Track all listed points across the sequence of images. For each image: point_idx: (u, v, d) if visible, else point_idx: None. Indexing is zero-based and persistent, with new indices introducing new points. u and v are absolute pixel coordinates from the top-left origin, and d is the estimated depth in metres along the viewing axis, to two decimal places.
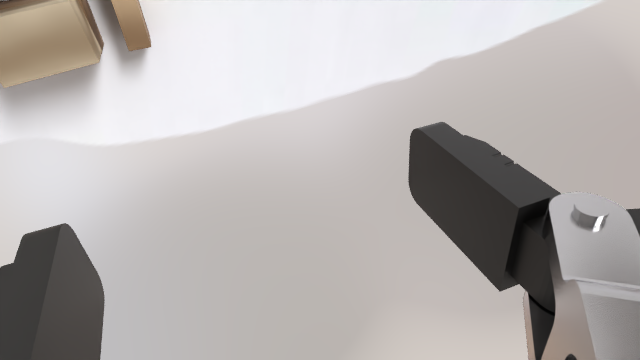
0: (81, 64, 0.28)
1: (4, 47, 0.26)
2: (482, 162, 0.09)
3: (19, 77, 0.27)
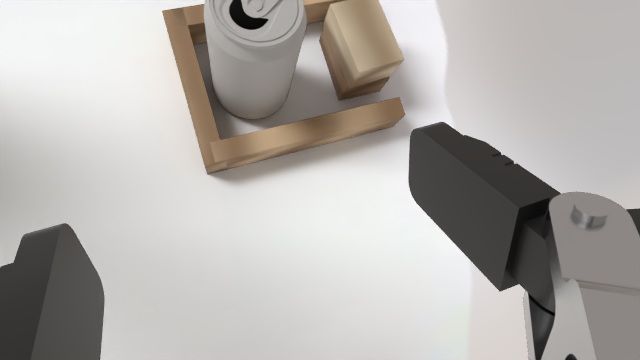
0: (378, 5, 0.34)
1: (372, 51, 0.33)
2: (482, 162, 0.09)
3: (394, 47, 0.33)
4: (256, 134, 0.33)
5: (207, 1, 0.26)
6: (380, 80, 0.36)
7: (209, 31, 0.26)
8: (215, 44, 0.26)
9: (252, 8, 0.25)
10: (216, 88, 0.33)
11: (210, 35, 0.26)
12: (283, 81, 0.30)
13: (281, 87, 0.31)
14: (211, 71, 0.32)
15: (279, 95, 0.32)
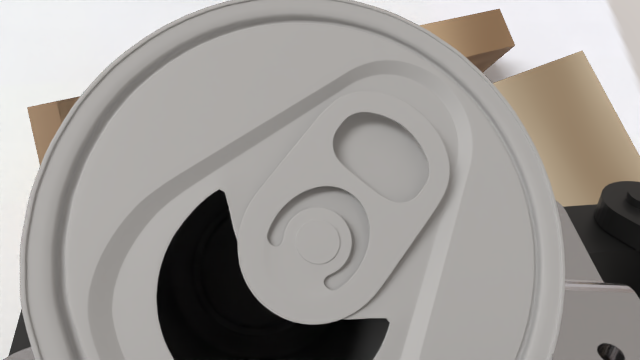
0: (594, 82, 0.13)
1: None
2: None
3: None
4: None
5: None
6: None
7: None
8: None
9: (296, 261, 0.04)
10: (171, 322, 0.12)
11: None
12: None
13: (361, 358, 0.10)
14: None
15: (346, 350, 0.11)
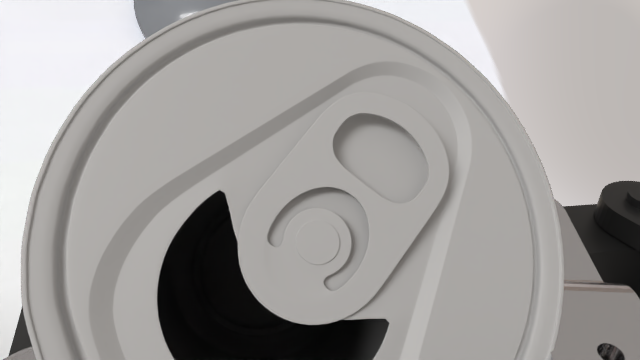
0: None
1: None
2: None
3: None
4: None
5: None
6: None
7: None
8: None
9: (295, 261, 0.04)
10: (171, 322, 0.12)
11: None
12: None
13: (361, 358, 0.10)
14: None
15: (346, 351, 0.11)
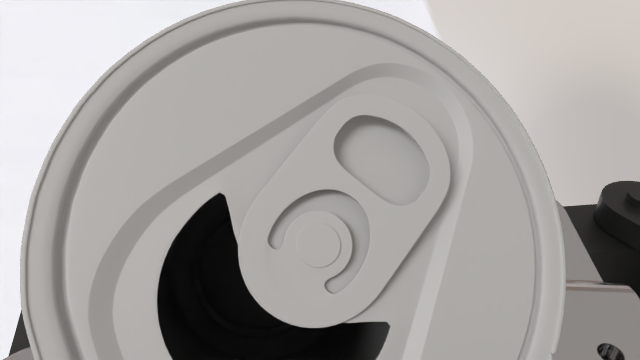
0: None
1: None
2: None
3: None
4: None
5: None
6: None
7: None
8: None
9: (297, 263, 0.04)
10: (171, 323, 0.12)
11: None
12: None
13: (362, 359, 0.10)
14: None
15: (346, 352, 0.11)
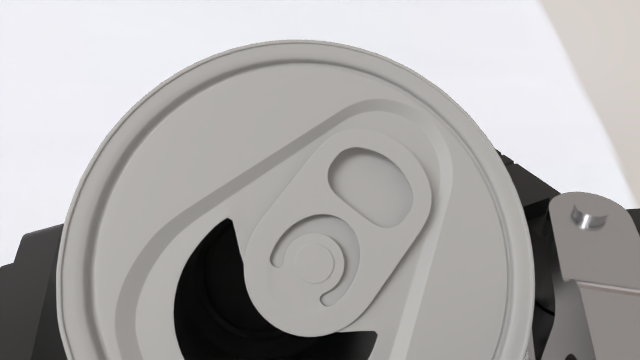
0: None
1: None
2: None
3: None
4: None
5: None
6: None
7: None
8: None
9: (295, 280, 0.05)
10: (177, 327, 0.13)
11: None
12: None
13: None
14: None
15: (344, 354, 0.12)
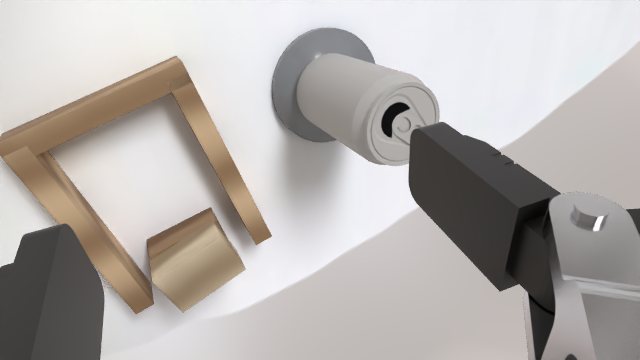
0: (233, 275, 0.35)
1: (180, 285, 0.33)
2: (482, 162, 0.09)
3: (192, 301, 0.34)
4: (57, 190, 0.29)
5: (403, 76, 0.27)
6: None
7: (376, 83, 0.27)
8: (365, 89, 0.27)
9: (400, 121, 0.28)
10: (322, 65, 0.33)
11: (372, 84, 0.27)
12: None
13: (331, 135, 0.33)
14: (338, 62, 0.32)
15: (323, 129, 0.34)
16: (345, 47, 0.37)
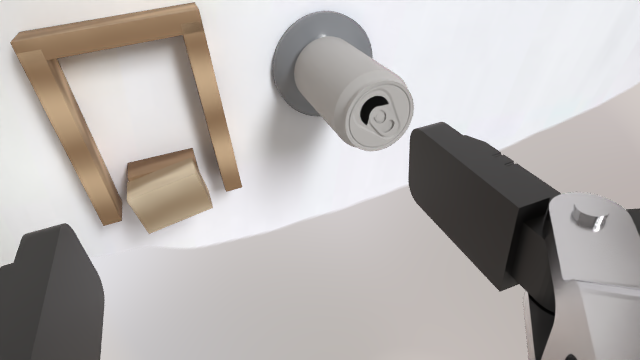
0: (200, 210, 0.38)
1: (151, 209, 0.37)
2: (482, 162, 0.09)
3: (159, 225, 0.38)
4: (59, 96, 0.32)
5: (389, 74, 0.31)
6: None
7: (365, 74, 0.30)
8: (354, 77, 0.31)
9: (377, 113, 0.31)
10: (324, 46, 0.36)
11: (362, 74, 0.30)
12: (320, 114, 0.36)
13: (316, 110, 0.36)
14: (338, 46, 0.36)
15: (310, 103, 0.37)
16: (349, 34, 0.40)
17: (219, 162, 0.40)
